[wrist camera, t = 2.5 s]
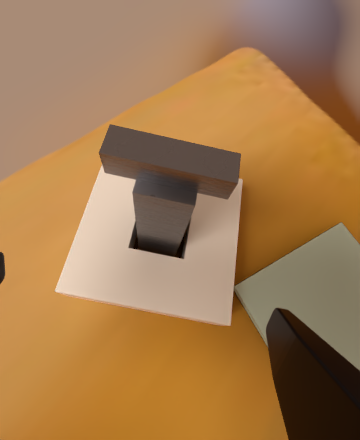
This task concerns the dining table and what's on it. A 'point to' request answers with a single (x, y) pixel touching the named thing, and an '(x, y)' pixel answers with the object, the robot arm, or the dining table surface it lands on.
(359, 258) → the pad
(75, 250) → the socket block
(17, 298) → the dining table surface
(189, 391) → the dining table surface
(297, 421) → the robot arm
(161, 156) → the t key
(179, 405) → the dining table surface
